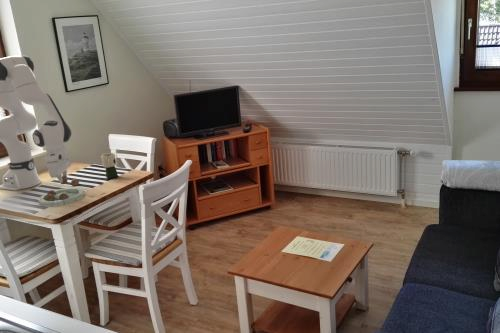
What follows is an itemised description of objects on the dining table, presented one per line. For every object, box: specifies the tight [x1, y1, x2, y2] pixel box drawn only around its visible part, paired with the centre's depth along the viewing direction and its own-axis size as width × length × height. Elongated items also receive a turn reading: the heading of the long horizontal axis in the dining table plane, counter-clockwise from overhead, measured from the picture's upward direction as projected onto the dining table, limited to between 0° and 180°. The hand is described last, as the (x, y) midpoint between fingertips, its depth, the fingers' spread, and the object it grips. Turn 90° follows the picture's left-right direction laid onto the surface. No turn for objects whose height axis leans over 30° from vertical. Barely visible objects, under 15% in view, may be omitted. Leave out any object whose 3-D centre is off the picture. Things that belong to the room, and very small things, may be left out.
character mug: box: [100, 152, 119, 179], centre depth 280 cm, size 11×7×13 cm, turn 15°
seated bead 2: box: [46, 194, 55, 201], centre depth 249 cm, size 4×4×4 cm
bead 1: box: [60, 175, 68, 185], centre depth 257 cm, size 4×4×4 cm
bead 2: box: [70, 178, 80, 187], centre depth 273 cm, size 4×4×4 cm
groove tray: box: [38, 187, 85, 207], centre depth 254 cm, size 21×21×3 cm
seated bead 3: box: [59, 193, 68, 200], centre depth 248 cm, size 4×4×4 cm
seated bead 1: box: [46, 189, 56, 196], centre depth 255 cm, size 4×4×4 cm
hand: (63, 180), depth 257 cm, fingers closed on bead 1, 4 cm apart
